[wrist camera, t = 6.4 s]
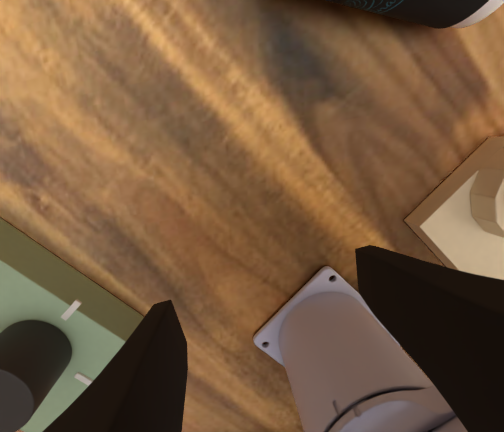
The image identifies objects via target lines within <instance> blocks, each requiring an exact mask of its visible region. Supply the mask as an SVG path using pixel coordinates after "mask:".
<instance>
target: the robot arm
mask: <svg viewBox="0 0 504 432" xmlns="http://www.w3.org/2000/svg"><path fill="white" fill-rule="evenodd" d="M355 253H356V265H357V277H358V289H359V293H358V292H357V291H356V290H355V289H354V288H353V287H352V286H351V285H350V284H348V283H347V282H346V281H345V280H344V279H343V278H342V277H341V276H340V275H339V274H338V273H337V272H335V271H334V270H333V269H332V268H331V267H329V266H325V267H323V268H322V269H321V270H320V271H319V272H318V273H317V274H316V275H315V276H314V277H313V278H312V279H311V280H310V281H309V282H307V283H306V284H305V285H304V286H303V287H302V288H301V289H300V290H299V291H298V292H297V293H296V294H295V295H294V296H293V297H292V298H291V299H290V300H289V301H288V302H287V303H286V304H285V305H284V306H283V307H282V308H281V309H280V310H279V311H278V312H277V313H276V314H275V315H274V316H273V317H272V318H271V319H270V320H269V321H268V322H267V323H266V324H265V325H264V326H263V327H262V328H261V329H260V330H259V331H258V332H257V333H256V334H255V335H254V337H253V341H254V344H255V345H256V346H257V347H259V348H260V349H261V350H263V351H264V352H265V353H267V354H268V355H269V356H271V357H272V358H273V359H275V360H276V361H277V362H279V363H280V364H281V365H283V366H284V367H285V368H286V372H287V375H288V379H289V382H290V386H291V389H292V393H293V396H294V400H295V403H296V407H297V410H298V414H299V417H300V420H301V424H302V427H303V431H304V432H504V280H501V279H496V278H491V277H486V276H481V275H476V274H472V273H467V272H463V271H459V270H455V269H451V268H447V267H444V266H440V265H436V264H433V263H429V262H426V261H422V260H419V259H416V258H413V257H409V256H406V255H403V254H400V253H397V252H393V251H390V250H387V249H383V248H380V247H376V246H372V245H368V246H365V247H361V248H357V249H355ZM333 275H334V278H333V279H332V280H329V278H330V276H333ZM263 342H267V343H266V344H262V343H263ZM400 345H401V346H402V347H403V348H404V349H405V351H406V352H407V353H408V354H409V355H410V356H411V357H412V358H413V360H414V361H415V362H416V363H417V364H418V365H419V366H420V368H421V369H422V370H423V371H424V373H425V374H426V375H427V376H428V377H427V376H426V375H425V374H424V373H423V372H422V371H421V370H420V368H419V367H418V366H417V365H416V364H415V363H414V362H413V361H412V359H411V358H410V357H409V356H408V355H407V354H406V353H405V352H404V351H403V349H402V348H401V347H400ZM187 370H188V363H187V341H186V338H185V336H184V333H183V330H182V328H181V325H180V322H179V320H178V317H177V314H176V312H175V309H174V306H173V304H172V301H171V300H168V301H164V302H160V303H157V304H154V305H153V306H152V308H151V309H150V310H149V311H148V313H147V314H146V315H145V317H144V318H143V320H142V321H141V322H140V324H139V325H138V326H137V328H136V329H135V330H134V332H133V333H132V334H131V335H130V337H129V338H128V339H127V341H126V342H125V343H124V345H123V346H122V347H121V348H120V350H119V351H118V352H117V353H116V354H115V356H114V357H113V358H112V359H111V361H110V362H109V363H108V364H107V365H106V367H105V368H104V369H103V370H102V371H101V373H100V374H99V375H98V376H97V377H96V378H95V379H94V380H93V382H92V383H91V384H90V385H89V386H88V387H87V388H86V389H85V390H84V391H83V392H82V393H81V394H80V395H79V396H78V397H77V399H76V400H75V401H74V402H73V403H72V404H71V405H70V406H69V407H68V408H67V409H66V410H65V411H64V412H63V413H62V414H61V415H59V416H58V417H57V418H56V419H55V420H54V421H53V422H52V423H51V424H50V425H49V426H48V427H47V428H46V429H45V430H43V431H42V432H181V431H182V421H183V412H184V402H185V392H186V381H187ZM428 378H429V379H430V380H431V381H430V380H429V379H428Z"/></svg>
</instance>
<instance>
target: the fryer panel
mask: <svg viewBox="0 0 504 432" xmlns="http://www.w3.org/2000/svg"><path fill="white" fill-rule="evenodd" d="M143 318H144V316H142V315H141V314H139V313H138V312H137V311H135V310H134V309H132V308H131V307H129V306H128V305H126V304H125V303H123V302H122V301H121V300H119V299H118V298H116V297H115V296H113V295H112V294H110V293H109V292H108V291H106V290H105V289H103V288H102V287H100V286H99V285H97V284H96V283H94V282H93V281H92V280H90V279H89V278H87V277H86V276H84V275H83V274H81V273H80V272H78V271H77V270H76V269H74V268H73V267H71V266H70V265H68V264H67V263H65V262H64V261H63V260H61V259H60V258H58V257H57V256H55V255H54V254H52V253H51V252H49V251H48V250H47V249H45V248H44V247H42V246H41V245H39V244H38V243H36V242H35V241H33V240H32V239H31V238H29V237H28V236H26V235H25V234H23V233H22V232H20V231H19V230H18V229H16V228H15V227H13V226H12V225H10V224H9V223H7V222H6V221H4V220H3V219H2V218H0V333H1V332H2V331H3V330H4V329H6V328H7V327H8V326H10V325H12V324H14V323H17V322H20V321H25V320H38V321H43V322H47V323H49V324H52V325H54V326H55V327H57V328H58V329H60V330H61V331H62V332H63V333H64V334H65V335H66V336H67V338H68V339H69V341H70V344H71V347H72V356H71V360H70V363H69V364H68V366H67V367H66V369H65V370H64V372H63V373H62V375H61V376H60V377H59V379H58V380H57V382H56V383H55V385H54V386H53V387H52V389H51V390H50V392H49V393H48V394H47V396H46V397H45V399H44V400H43V402H42V403H41V404H40V406H39V407H38V409H37V410H36V412H35V413H34V414H33V416H32V417H31V419H30V420H29V421H28V422H27V423H26V424H25V425H24V426H23V427H22V428H20V430H22V431H24V432H42V431H43V430H45V429H46V428H47V427H48V426H49V425H50V424H51V423H52V422H53V421H54V420H55V419H56V418H57V417H58V416H59V415H61V414H62V413H63V412H64V411H65V410H66V409H67V408H68V407H69V406H70V405H71V404H72V403H73V402H74V401H75V400H76V399H77V397H78V396H79V395H80V394H81V393H82V392H83V391H84V390H85V389H86V388H87V387H88V386H89V385H90V384H91V383H92V382H93V380H94V379H95V378H96V377H97V376H98V375H99V374H100V373H101V371H102V370H103V369H104V368H105V367H106V365H107V364H108V363H109V362H110V361H111V359H112V358H113V357H114V356H115V354H116V353H117V352H118V351H119V350H120V348H121V347H122V346H123V345H124V343H125V342H126V341H127V339H128V338H129V337H130V335H131V334H132V333H133V332H134V330H135V329H136V328H137V326H138V325H139V324H140V322H141V321H142V320H143Z"/></svg>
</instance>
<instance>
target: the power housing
mask: <svg viewBox="0 0 504 432" xmlns="http://www.w3.org/2000/svg"><path fill="white" fill-rule="evenodd" d="M404 221H405V222H406V223H407V225H408V226H409V227H410V228H411V229H412V230H413V231H414V232H415V233H416V234H417V235H418V237H419V238H420V239H421V240H422V241H423V242H424V243H425V244H426V245H427V246H428V247H429V249H430V250H431V251H432V252H433V253H434V254H435V255H436V256H437V257H438V258H439V259H440V261H441V262H442V263H443V264H444V265H445V266H446V267H447V268H451V269H455V270H459V271H463V272H467V273H472V274H476V275H481V276H486V277H491V278H496V279H501V280H504V136H497V137H489V138H488V139H487V140H486V141H485V142H484V143H482V144H481V145H480V146H479V147H478V148H477V149H476V150H475V151H474V152H473V153H472V154H471V155H470V156H469V157H468V158H467V159H466V160H465V161H464V162H463V163H462V164H461V165H460V166H459V167H458V168H457V169H456V170H455V171H454V172H453V173H452V174H451V175H450V176H449V177H448V178H447V179H445V180H444V181H443V182H442V183H441V184H440V185H439V186H438V187H437V188H436V189H435V190H434V191H433V192H432V193H431V194H430V195H429V196H428V197H427V198H426V199H425V200H424V201H423V202H422V203H421V204H420V205H419V206H418V207H417V208H416V209H415V210H414V211H413V212H412V213H411V214H410V215H408V216H407V217H406V218H405V219H404Z"/></svg>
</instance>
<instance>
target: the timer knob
mask: <svg viewBox="0 0 504 432" xmlns="http://www.w3.org/2000/svg"><path fill="white" fill-rule="evenodd" d="M71 356H72V347H71V344H70V341H69V339H68V338H67V336H66V335H65V334H64V333H63V332H62V331H61V330H60V329H58V328H57V327H55V326H54V325H52V324H49V323H47V322H43V321H38V320H25V321H20V322H17V323H14V324H12V325H10V326H8V327H7V328H6V329H4V330H3V331H2V332H1V333H0V432H15V431H17V430H19V429H20V428H22V427H23V426H24V425H25V424H26V423H27V422H28V421H29V420H30V419H31V417H32V416H33V414H34V413H35V412H36V410H37V409H38V407H39V406H40V404H41V403H42V402H43V400H44V399H45V397H46V396H47V394H48V393H49V392H50V390H51V389H52V387H53V386H54V385H55V383H56V382H57V380H58V379H59V377H60V376H61V375H62V373H63V372H64V370H65V369H66V367H67V366H68V364H69V363H70V360H71Z"/></svg>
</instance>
